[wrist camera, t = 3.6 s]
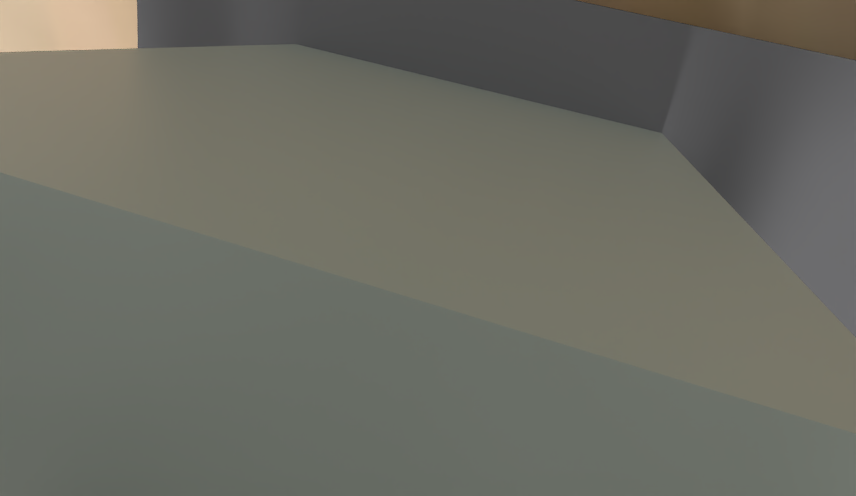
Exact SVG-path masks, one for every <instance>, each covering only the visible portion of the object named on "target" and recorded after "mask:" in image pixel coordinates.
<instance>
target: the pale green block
mask: <svg viewBox="0 0 856 496" xmlns="http://www.w3.org/2000/svg"><path fill="white" fill-rule="evenodd" d="M0 496H856V337H855V336H854V335H853V334H852V333H851V332H850V331H849V330H848V329H847V328H846V327H845V326H844V325H843V324H842V323H841V322H840V321H839V320H838V318H837V317H836V316H835V315H834V314H833V313H832V312H831V311H830V310H829V309H828V308H827V307H826V306H825V305H824V304H823V303H822V302H821V301H820V299H819V298H818V297H817V296H816V295H815V294H814V293H813V292H812V291H811V290H810V289H809V288H808V287H807V286H806V285H805V284H804V283H803V282H802V280H801V279H800V278H799V277H798V276H797V275H796V274H795V273H794V272H793V271H792V270H791V269H790V268H789V267H788V266H787V265H786V264H785V263H784V261H783V260H782V259H781V258H780V257H779V256H778V255H777V254H776V253H775V252H774V251H773V250H772V249H771V248H770V247H769V246H768V245H767V244H766V242H765V241H764V240H763V239H762V238H761V237H760V236H759V235H758V234H757V233H756V232H755V231H754V230H753V229H752V228H751V227H750V226H749V225H748V223H747V222H746V221H745V220H744V219H743V218H742V217H741V216H740V215H739V214H738V213H737V212H736V211H735V210H734V209H733V208H732V207H731V206H730V205H729V203H728V202H727V201H726V200H725V199H724V198H723V197H722V196H721V195H720V194H719V193H718V192H717V191H716V190H715V189H714V188H713V187H712V186H711V184H710V183H709V182H708V181H707V180H706V179H705V178H704V177H703V176H702V175H701V174H700V173H699V172H698V171H697V170H696V169H695V168H694V167H693V165H692V164H691V163H690V162H689V161H688V160H687V159H686V158H685V157H684V156H683V155H682V154H681V153H680V152H679V151H678V150H677V149H676V148H675V146H674V145H673V144H672V143H671V142H670V141H669V140H668V139H667V138H666V137H665V136H664V135H663V134H662V133H659V132H655V131H651V130H647V129H643V128H639V127H635V126H631V125H626V124H622V123H618V122H614V121H610V120H606V119H602V118H598V117H594V116H589V115H585V114H581V113H577V112H573V111H569V110H565V109H561V108H557V107H553V106H548V105H544V104H540V103H536V102H532V101H528V100H524V99H520V98H516V97H511V96H507V95H503V94H499V93H495V92H491V91H487V90H483V89H479V88H474V87H470V86H466V85H462V84H458V83H454V82H450V81H446V80H442V79H437V78H433V77H429V76H425V75H421V74H417V73H413V72H409V71H405V70H401V69H396V68H392V67H388V66H384V65H380V64H376V63H372V62H368V61H364V60H359V59H355V58H351V57H347V56H343V55H339V54H335V53H331V52H327V51H322V50H318V49H314V48H310V47H306V46H302V45H298V44H278V45H242V46H207V47H172V48H136V49H101V50H66V51H31V52H0Z"/></svg>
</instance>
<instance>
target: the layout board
mask: <svg viewBox="0 0 856 496" xmlns="http://www.w3.org/2000/svg"><path fill="white" fill-rule="evenodd" d="M137 17H138V48H172V47H207V46H242V45H278V44H298V45H302V46H306V47H310V48H314V49H318V50H322V51H327V52H331V53H335V54H339V55H343V56H347V57H351V58H355V59H359V60H364V61H368V62H372V63H376V64H380V65H384V66H388V67H392V68H396V69H401V70H405V71H409V72H413V73H417V74H421V75H425V76H429V77H433V78H437V79H442V80H446V81H450V82H454V83H458V84H462V85H466V86H470V87H474V88H479V89H483V90H487V91H491V92H495V93H499V94H503V95H507V96H511V97H516V98H520V99H524V100H528V101H532V102H536V103H540V104H544V105H548V106H553V107H557V108H561V109H565V110H569V111H573V112H577V113H581V114H585V115H589V116H594V117H598V118H602V119H606V120H610V121H614V122H618V123H622V124H626V125H631V126H635V127H639V128H643V129H647V130H651V131H655V132H659V133H662V134H663V135H664V136H665V137H666V138H667V139H668V140H669V141H670V142H671V143H672V144H673V145H674V146H675V148H676V149H677V150H678V151H679V152H680V153H681V154H682V155H683V156H684V157H685V158H686V159H687V160H688V161H689V162H690V163H691V164H692V165H693V167H694V168H695V169H696V170H697V171H698V172H699V173H700V174H701V175H702V176H703V177H704V178H705V179H706V180H707V181H708V182H709V183H710V184H711V186H712V187H713V188H714V189H715V190H716V191H717V192H718V193H719V194H720V195H721V196H722V197H723V198H724V199H725V200H726V201H727V202H728V203H729V205H730V206H731V207H732V208H733V209H734V210H735V211H736V212H737V213H738V214H739V215H740V216H741V217H742V218H743V219H744V220H745V221H746V222H747V223H748V225H749V226H750V227H751V228H752V229H753V230H754V231H755V232H756V233H757V234H758V235H759V236H760V237H761V238H762V239H763V240H764V241H765V242H766V244H767V245H768V246H769V247H770V248H771V249H772V250H773V251H774V252H775V253H776V254H777V255H778V256H779V257H780V258H781V259H782V260H783V261H784V263H785V264H786V265H787V266H788V267H789V268H790V269H791V270H792V271H793V272H794V273H795V274H796V275H797V276H798V277H799V278H800V279H801V280H802V282H803V283H804V284H805V285H806V286H807V287H808V288H809V289H810V290H811V291H812V292H813V293H814V294H815V295H816V296H817V297H818V298H819V299H820V301H821V302H822V303H823V304H824V305H825V306H826V307H827V308H828V309H829V310H830V311H831V312H832V313H833V314H834V315H835V316H836V317H837V318H838V320H839V321H840V322H841V323H842V324H843V325H844V326H845V327H846V328H847V329H848V330H849V331H850V332H851V333H852V334H853V335H854V336H855V337H856V60H852V59H847V58H842V57H838V56H833V55H828V54H824V53H819V52H814V51H810V50H805V49H800V48H796V47H791V46H786V45H781V44H777V43H772V42H767V41H763V40H758V39H753V38H749V37H744V36H739V35H735V34H730V33H725V32H721V31H716V30H711V29H707V28H702V27H697V26H693V25H688V24H683V23H679V22H674V21H669V20H665V19H660V18H655V17H651V16H646V15H641V14H637V13H632V12H627V11H623V10H618V9H613V8H609V7H604V6H599V5H595V4H590V3H585V2H581V1H576V0H137Z"/></svg>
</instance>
